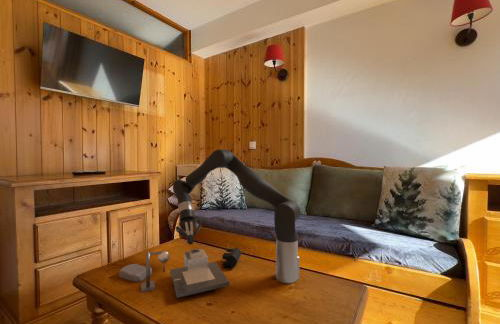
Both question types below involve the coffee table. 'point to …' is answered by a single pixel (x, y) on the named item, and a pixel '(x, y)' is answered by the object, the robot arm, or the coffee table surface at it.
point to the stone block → (134, 272)
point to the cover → (195, 262)
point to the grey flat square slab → (198, 280)
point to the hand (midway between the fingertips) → (191, 243)
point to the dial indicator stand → (149, 284)
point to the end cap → (231, 258)
